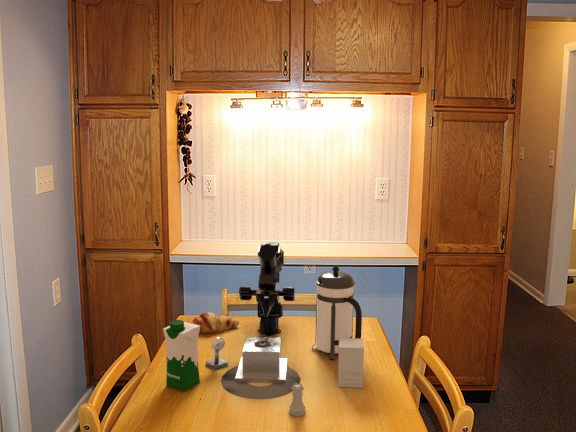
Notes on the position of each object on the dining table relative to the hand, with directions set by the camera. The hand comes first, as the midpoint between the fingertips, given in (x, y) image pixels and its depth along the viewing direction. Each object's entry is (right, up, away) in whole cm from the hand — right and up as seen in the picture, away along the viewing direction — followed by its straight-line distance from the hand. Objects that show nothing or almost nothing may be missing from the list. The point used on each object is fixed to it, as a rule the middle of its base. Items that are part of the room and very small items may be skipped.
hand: (265, 316), depth 184 cm
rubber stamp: (-15, -14, -7) cm, 22 cm away
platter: (-1, -16, -17) cm, 23 cm away
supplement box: (+26, -17, -17) cm, 36 cm away
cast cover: (-1, -15, -11) cm, 19 cm away
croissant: (-21, -9, +23) cm, 33 cm away
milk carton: (-24, -17, -20) cm, 35 cm away
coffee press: (+24, -13, +4) cm, 27 cm away
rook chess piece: (+10, -20, -35) cm, 41 cm away
